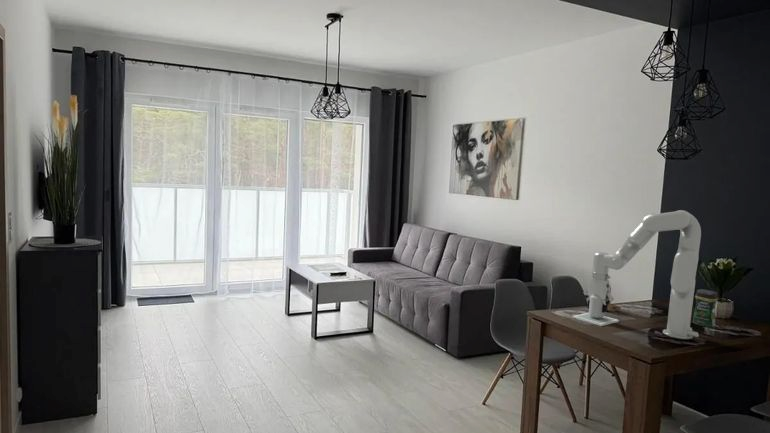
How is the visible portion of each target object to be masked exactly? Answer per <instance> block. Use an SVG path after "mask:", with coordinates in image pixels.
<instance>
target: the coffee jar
mask: <svg viewBox="0 0 770 433" xmlns="http://www.w3.org/2000/svg"><path fill="white" fill-rule="evenodd" d="M718 296H719V295H718V292H717V291H714V290H713V291H712V290H710V289H709V290H708V289H703V288H700V289H699V288H698V289H697V290H696V293H695V296H694V298H695V306H694V307H695V308H694V312H693V317H692V320H691V322H692V323H693V324H694V325H697V326H700V327H704V326H705V328H714V326H715V325H716V324H715V321H716V314H715V313H716V305H717V302H718V300H719V299H718Z"/></svg>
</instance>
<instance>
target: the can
mask: <svg viewBox="0 0 770 433" xmlns="http://www.w3.org/2000/svg"><path fill="white" fill-rule="evenodd" d="M603 305H604V303H603V300H602V299H601V298H600V295H594V294H592V295H591V296H590V304H589V309H588V313H589V315H590V316H591V317H594V318H602V317H604V316H605V313H606V312H604V313H603V312H602V306H603Z"/></svg>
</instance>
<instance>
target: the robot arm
mask: <svg viewBox="0 0 770 433" xmlns="http://www.w3.org/2000/svg"><path fill="white" fill-rule="evenodd" d="M675 230H679V231H680V232H679V233H680V236H679V242H678V247H677V251H676V253H675V255H674V257H673V258H674V259H673V263H672V271H671V275H670V276H671V277H670V287H671V289H670V295H669V296H670V298H669V304H668V305H669V306H668V315H667V323H666V328H665V329H663V330H662V334H664V335H665V336H668V337H671V338H674V339H675V338H676V339H681V340H690V339H691V340H692V339H693V338H694V337H695V338H698V337H699V332H697V331H694V330H693V327H691V322H692V319H691V318H692V313H693V303H694V297H695V296H694V294H695V287H696V277H697V276H696V275H697V268H698V264H699V263H698V262H699V253H700V245H701V238H702V229H701V225H700V223H699V221H698V219H697V218H696V217H695V216H694V215H693V214H691V213H690V212H688V211H687V210H683V209H681V210H680V209H679V210H676V211H669V212H661V213H650V214H647V215H645V216H644V217H643V218H642V221H641V222H639V224H638V225H637V226H636V227H635V229H633V230H632V231H631V232H630V233H629V235H628V237H627V238H626V240H625V242H624V243H623V245H621V247H620V248H619V249H617V251H616V252H615V253H614V254H609V253H607V252H602V251H597V252H595V253H594V254H593V260H592V273H591V278H590V279H589V283H588V287H587V289H586V290H584V291H583V294H584V296H585V299H586V301H587V304H586V306H587V309H588V310H589V304H590V296H591V295H592V294H594V295H600V298H601V299H602V300H603V303H604V305H603V306H602V312H603V313H604V312H605V313H607V311H608V310H607V306H608V304H609V303H610V304H612V302H613V300H615V299H614V297H613V296H612V295H611V293H610V286H611V285H610V278H611V276H609V269H611V270H621V269H623V268H624V267H626V266H627V264H628V263H629V262H630V261H631V260H632V259H633V258H634V257H635V256H636V254H637V253H639V251H640V250H642V249H643V248H644V247H646V245H647V244H648V243H649V241H651V240H652V238H653V237H654V236H655V235H656V234H657V233H658V232H667V231H675ZM607 299H609V300H607ZM605 313H604V314H605Z"/></svg>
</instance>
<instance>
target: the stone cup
mask: <svg viewBox="0 0 770 433" xmlns="http://www.w3.org/2000/svg"><path fill="white" fill-rule="evenodd" d="M611 292H612V288H611V285H610V294H612V293H611ZM607 300H609V299H607ZM621 309H622V307H621V306H619V305H617V304H612V303H609V304H608V306H607V311H609V312H617V311H618V312H619V311H620V310H621Z"/></svg>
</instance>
